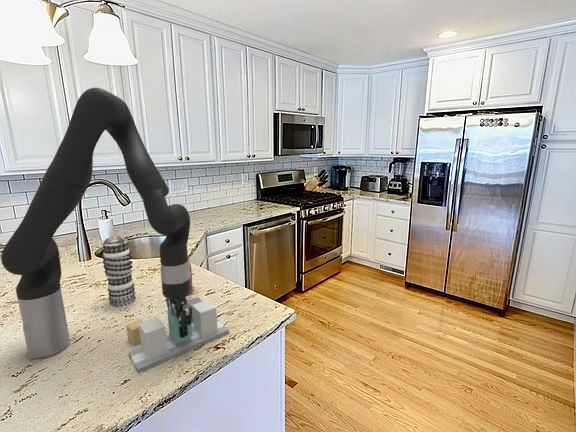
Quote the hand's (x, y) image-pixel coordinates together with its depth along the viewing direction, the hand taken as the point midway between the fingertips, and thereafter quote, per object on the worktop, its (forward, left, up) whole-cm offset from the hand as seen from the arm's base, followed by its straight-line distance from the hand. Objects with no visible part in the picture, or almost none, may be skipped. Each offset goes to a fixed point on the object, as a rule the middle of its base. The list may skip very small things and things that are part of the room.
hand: (180, 332), depth 87 cm
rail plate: (0, 0, -4) cm, 4 cm away
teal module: (0, 0, -1) cm, 1 cm away
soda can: (+13, +30, -4) cm, 33 cm away
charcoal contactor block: (+9, +10, -4) cm, 14 cm away
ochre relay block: (-9, +10, -4) cm, 14 cm away
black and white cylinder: (-7, +36, -4) cm, 37 cm away
